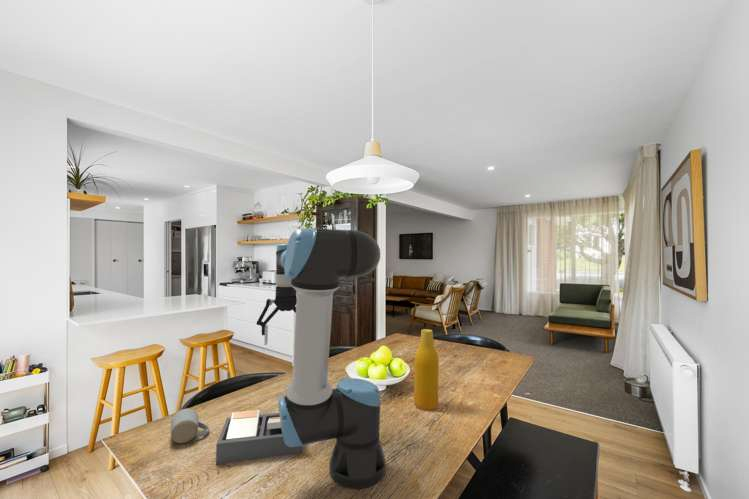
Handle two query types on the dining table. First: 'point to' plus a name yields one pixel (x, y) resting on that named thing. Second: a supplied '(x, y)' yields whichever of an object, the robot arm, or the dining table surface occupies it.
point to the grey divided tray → (255, 442)
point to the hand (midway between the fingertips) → (285, 343)
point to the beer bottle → (426, 373)
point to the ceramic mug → (186, 426)
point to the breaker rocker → (243, 425)
